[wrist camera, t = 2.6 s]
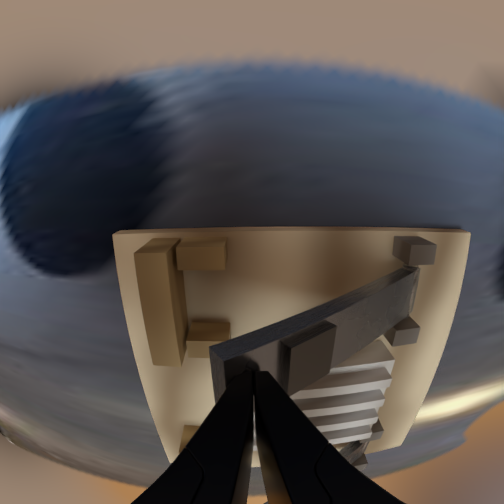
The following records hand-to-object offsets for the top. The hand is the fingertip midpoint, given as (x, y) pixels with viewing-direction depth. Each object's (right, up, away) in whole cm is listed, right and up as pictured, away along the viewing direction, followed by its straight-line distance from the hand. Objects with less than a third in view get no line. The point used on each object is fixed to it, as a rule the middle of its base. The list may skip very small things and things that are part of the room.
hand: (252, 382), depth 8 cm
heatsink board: (+3, -4, +9) cm, 11 cm away
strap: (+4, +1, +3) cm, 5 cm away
